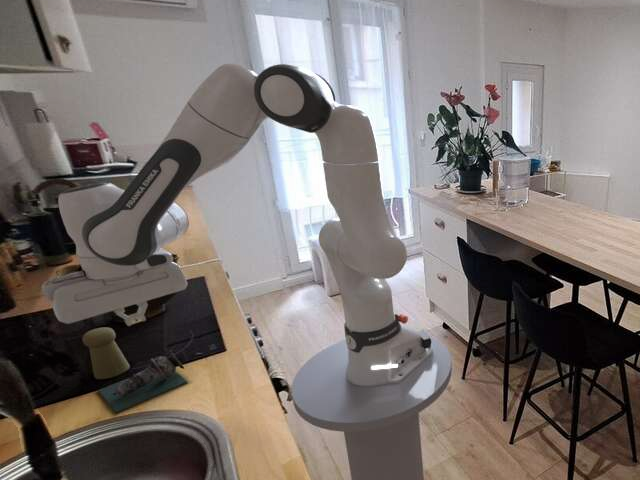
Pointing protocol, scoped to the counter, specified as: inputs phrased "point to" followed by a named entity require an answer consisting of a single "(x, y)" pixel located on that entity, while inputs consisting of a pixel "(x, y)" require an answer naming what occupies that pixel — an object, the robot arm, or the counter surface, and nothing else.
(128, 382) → the grey stone statuette
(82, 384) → the counter surface
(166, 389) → the felt mat
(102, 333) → the cork
